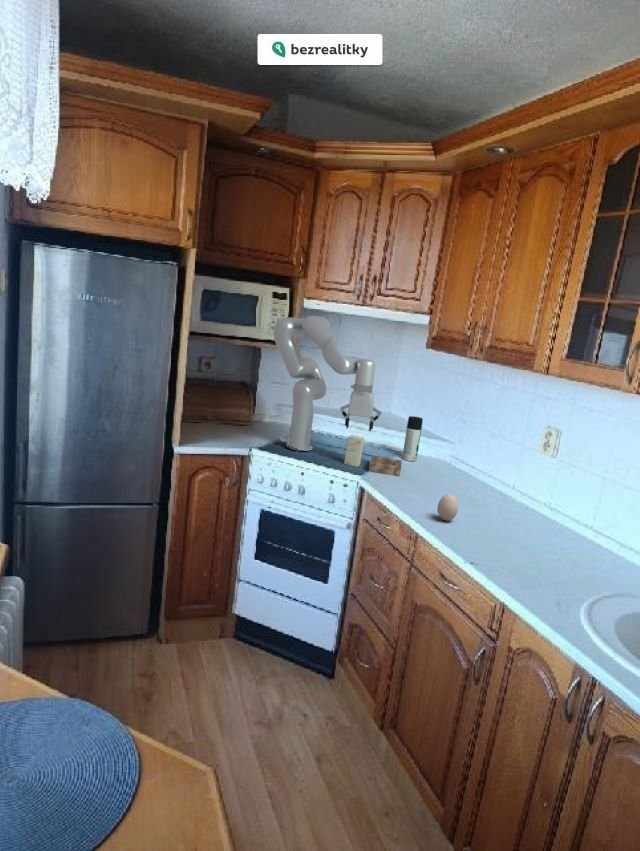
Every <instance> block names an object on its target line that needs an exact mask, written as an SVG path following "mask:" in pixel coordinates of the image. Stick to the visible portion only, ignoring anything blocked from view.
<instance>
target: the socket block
mask: <svg viewBox="0 0 640 851" xmlns="http://www.w3.org/2000/svg"><path fill="white" fill-rule="evenodd" d="M402 462H403V461H402V460H401V459H396V458H395V459H394V458H389V457H382V456H376V455H371V457H370V461H369V467H368V472H370V471H373V472H372V473H377V474H383V475H388V474H389V476H394V475H395V476H396V477H401V472H402Z"/></svg>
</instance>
